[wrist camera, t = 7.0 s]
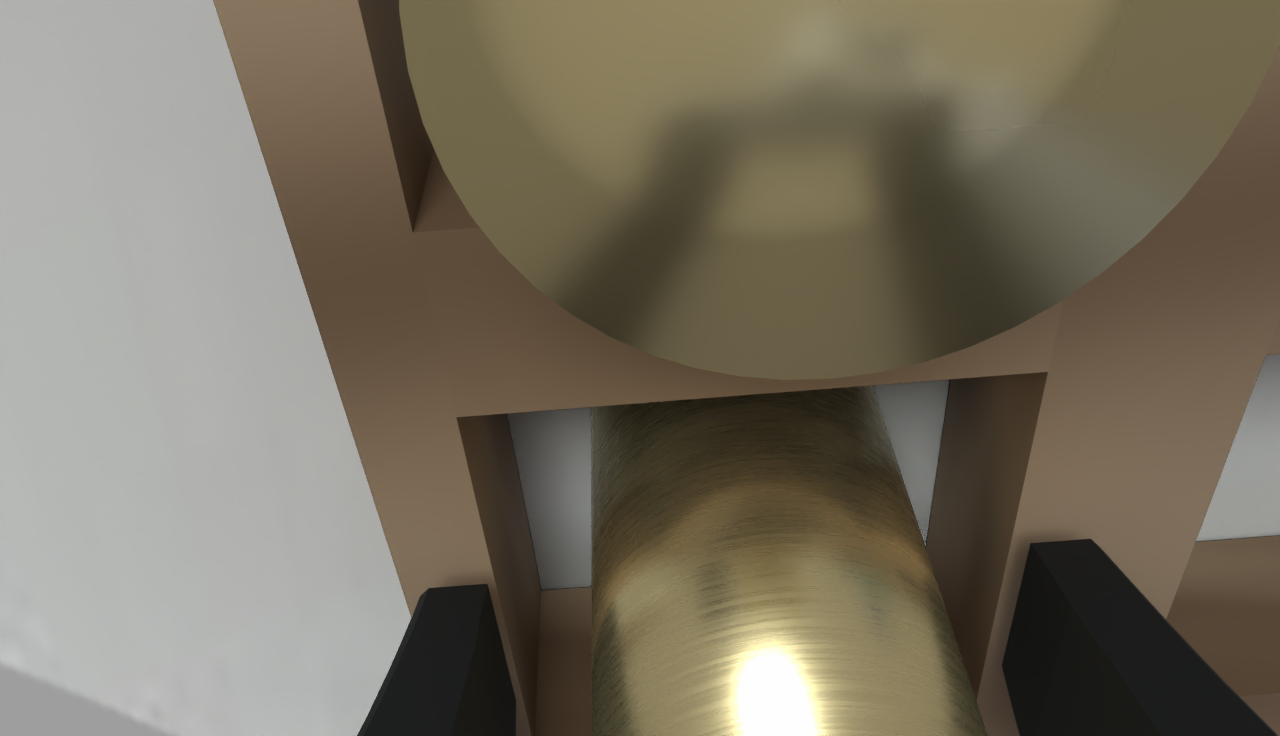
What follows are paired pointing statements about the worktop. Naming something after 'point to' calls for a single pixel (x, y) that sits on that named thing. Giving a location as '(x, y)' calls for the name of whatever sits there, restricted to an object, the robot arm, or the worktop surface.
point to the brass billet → (764, 575)
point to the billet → (825, 159)
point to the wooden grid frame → (621, 374)
